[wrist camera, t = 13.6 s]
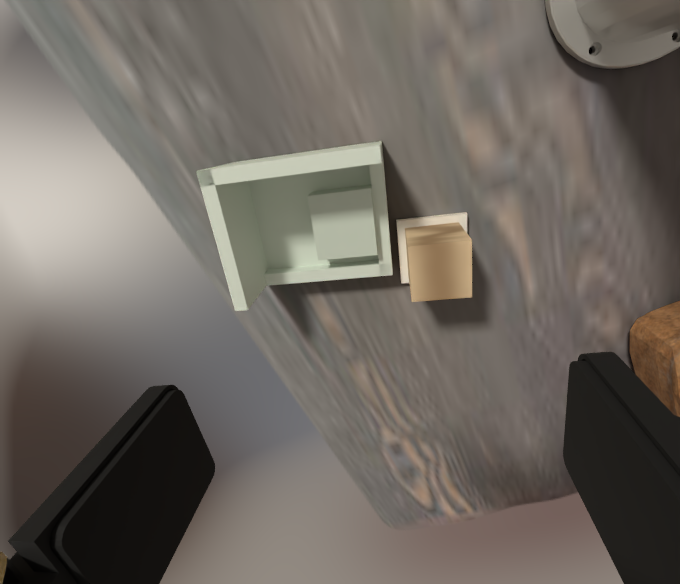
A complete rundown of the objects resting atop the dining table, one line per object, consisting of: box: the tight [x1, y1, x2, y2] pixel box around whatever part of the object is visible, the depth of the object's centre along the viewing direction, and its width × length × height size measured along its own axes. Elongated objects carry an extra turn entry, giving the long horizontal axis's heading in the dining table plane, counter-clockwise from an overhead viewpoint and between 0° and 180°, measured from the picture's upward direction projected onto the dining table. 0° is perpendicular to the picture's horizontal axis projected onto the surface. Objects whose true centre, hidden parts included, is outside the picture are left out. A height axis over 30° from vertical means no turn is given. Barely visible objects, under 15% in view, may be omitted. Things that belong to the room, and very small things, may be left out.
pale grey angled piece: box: [196, 141, 393, 311], centre depth 33 cm, size 14×12×8 cm
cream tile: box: [396, 212, 467, 283], centre depth 36 cm, size 6×6×1 cm
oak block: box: [405, 222, 472, 302], centre depth 33 cm, size 5×5×6 cm
